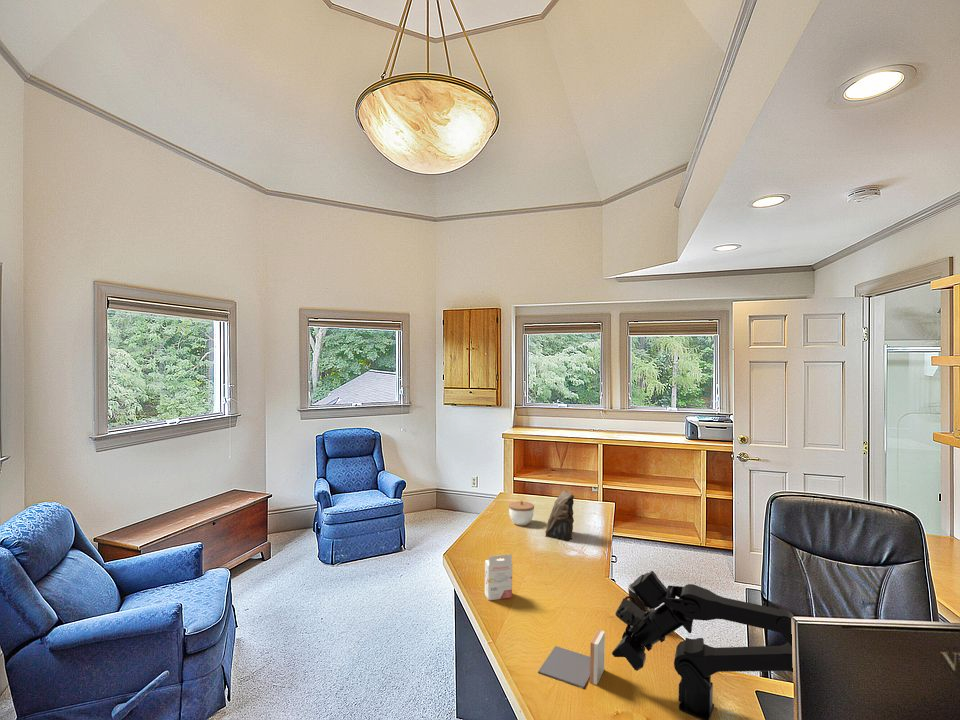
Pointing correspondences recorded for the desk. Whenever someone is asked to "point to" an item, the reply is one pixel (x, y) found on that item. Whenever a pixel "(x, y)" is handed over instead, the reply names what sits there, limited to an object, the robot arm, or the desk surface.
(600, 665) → the tile
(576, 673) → the gray pad
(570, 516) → the brown rock
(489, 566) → the ink cartridge box
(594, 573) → the desk surface
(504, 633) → the desk surface
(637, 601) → the coffee mug
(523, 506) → the lidded bowl
